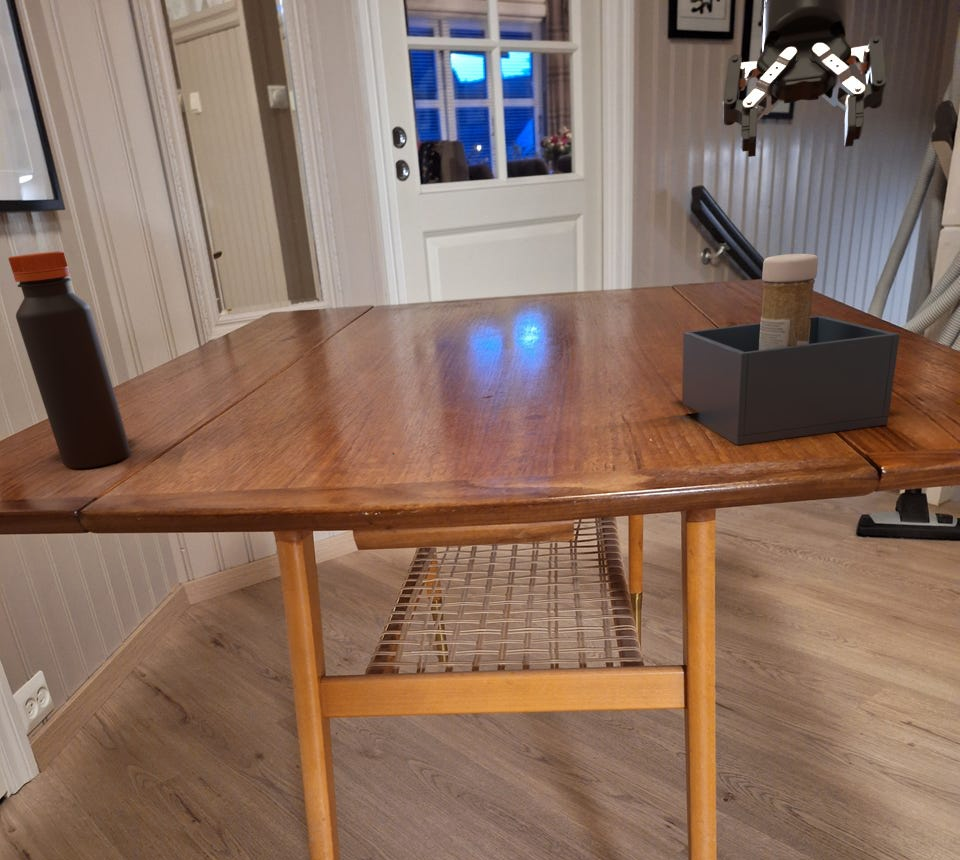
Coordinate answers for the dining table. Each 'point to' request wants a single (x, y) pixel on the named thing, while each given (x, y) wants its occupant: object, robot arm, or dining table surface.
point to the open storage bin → (789, 381)
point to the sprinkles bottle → (787, 300)
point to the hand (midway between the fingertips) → (800, 144)
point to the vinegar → (68, 363)
